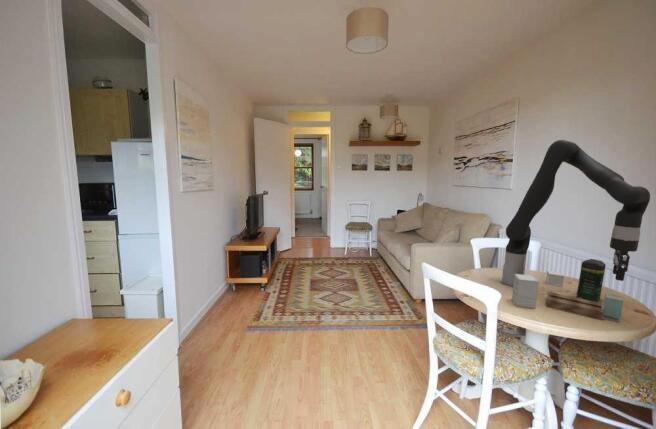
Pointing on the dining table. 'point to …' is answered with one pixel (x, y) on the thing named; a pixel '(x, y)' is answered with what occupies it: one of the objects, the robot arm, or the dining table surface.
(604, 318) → the mat
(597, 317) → the wooden slotted block
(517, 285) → the supplement box
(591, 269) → the coffee jar
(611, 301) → the stub
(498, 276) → the dining table surface
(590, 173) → the robot arm
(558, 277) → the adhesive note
